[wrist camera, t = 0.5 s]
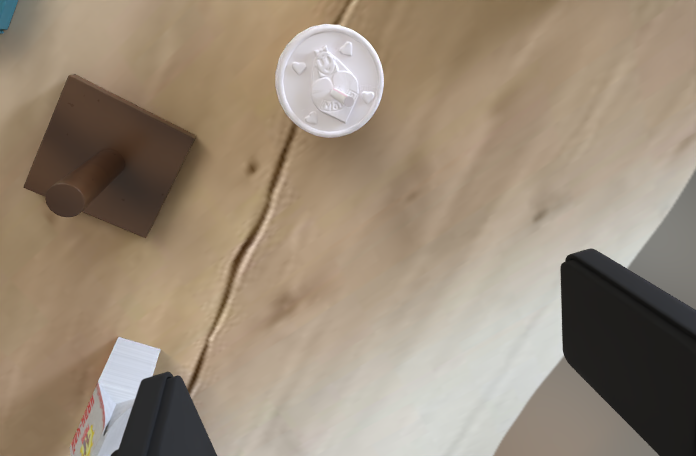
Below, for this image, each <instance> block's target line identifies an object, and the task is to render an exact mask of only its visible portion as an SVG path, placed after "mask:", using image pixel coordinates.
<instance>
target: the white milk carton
mask: <svg viewBox="0 0 696 456" xmlns="http://www.w3.org/2000/svg"><path fill="white" fill-rule="evenodd" d="M159 352H160V349H158V348H155V347H151V346H148V345H145V344H141V343H138V342H134V341H131V340H128V339H124V338H121V337H118V339H117V341H116V343H115V346H114V348H113V350H112V352H111V354H110V357H109V359H108V361H107V363H106V365H105V368H104V370H103V372H102V374H101V376H100V379H99V381H98V383H97V385H96V388H95V390H94V392H93V395H92V397H91V399H90V402H89V404H88V406H87V408H86V411H85V413H84V415H83V418H82V420H81V422H80V425H79V427H78V429H77V431H76V434H75V436H74V438H73V441H72V443H71V445H70V453H71V456H111V454H112V453H113V452H114V451H115V450H118V449H119V446H120V443H121V440H122V437H123V434H124V431H125V428H126V425H127V422H128V419H129V416H130V413H131V410H132V407H133V404H134V401H135V398H136V395H137V392H138V389H139V386H140V383H141V381H142V380H143V379H145V378H148V377H152V376H153V373H154V369H155V366H156V363H157V359H158V356H159Z"/></svg>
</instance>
